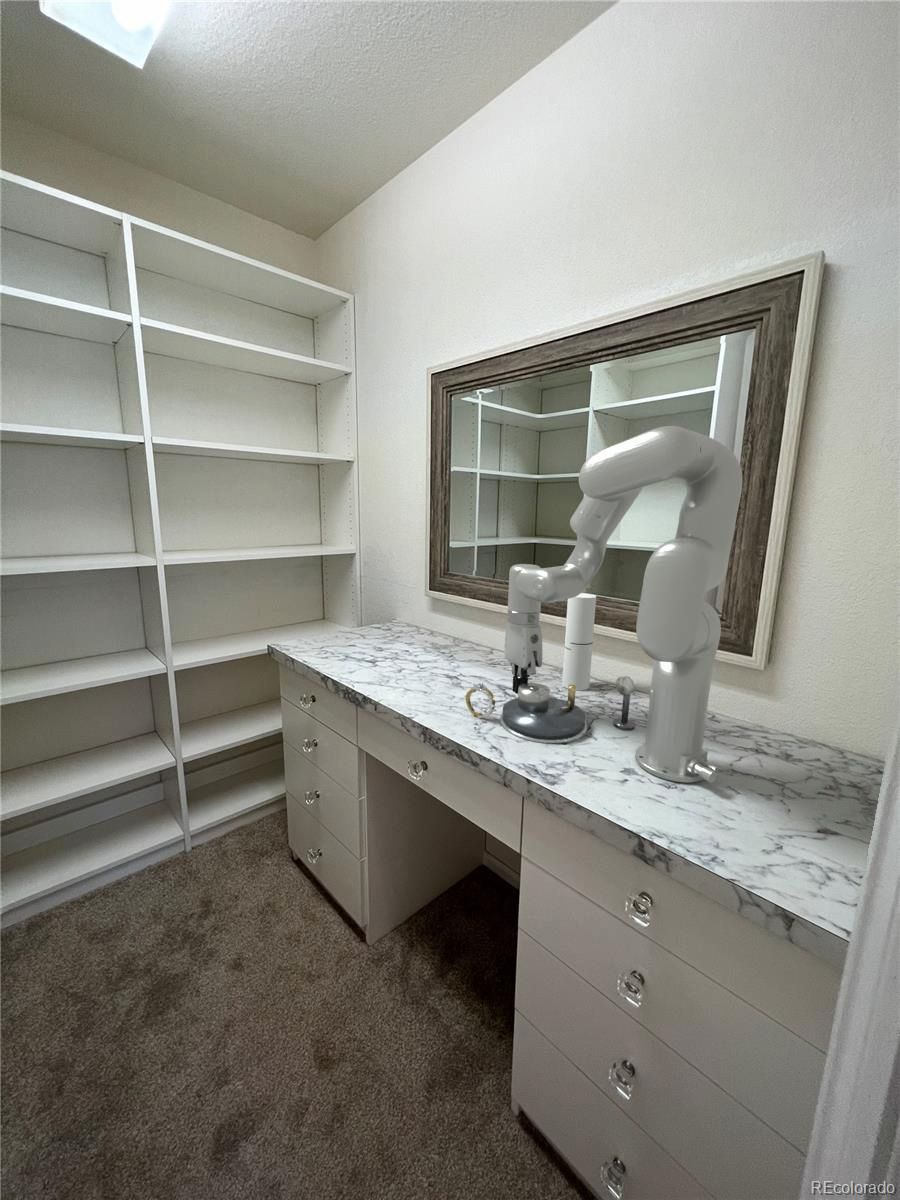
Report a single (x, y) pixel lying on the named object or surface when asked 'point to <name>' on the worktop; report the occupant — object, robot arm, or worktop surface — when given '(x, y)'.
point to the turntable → (546, 718)
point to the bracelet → (484, 689)
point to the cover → (533, 697)
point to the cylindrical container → (579, 641)
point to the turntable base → (550, 741)
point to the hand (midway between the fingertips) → (519, 691)
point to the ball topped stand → (624, 703)
